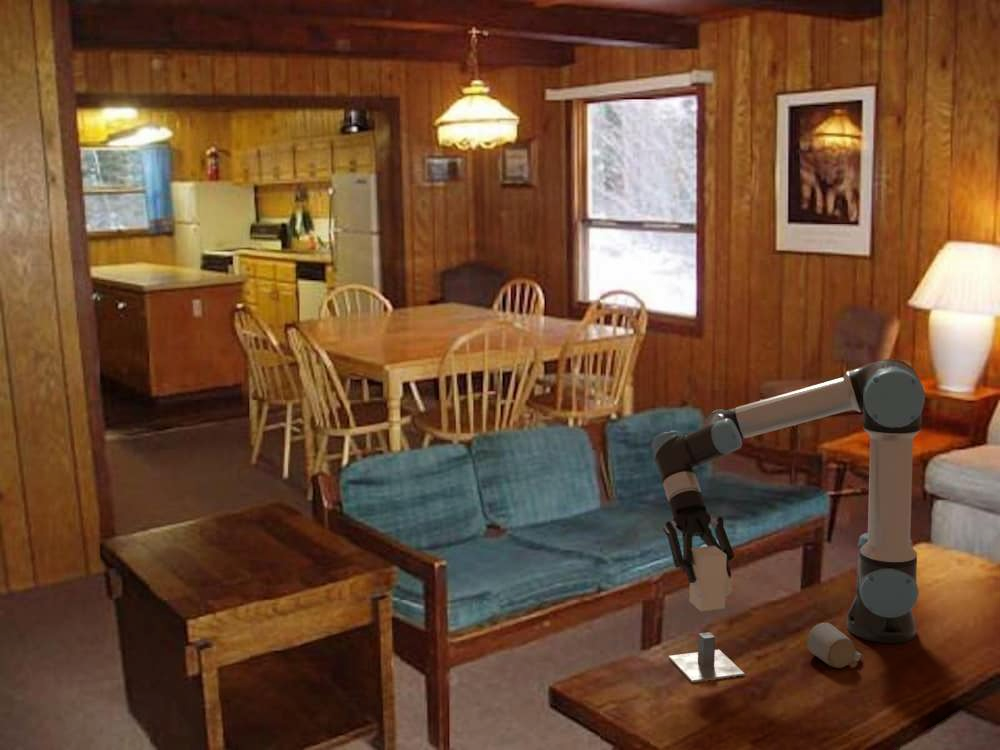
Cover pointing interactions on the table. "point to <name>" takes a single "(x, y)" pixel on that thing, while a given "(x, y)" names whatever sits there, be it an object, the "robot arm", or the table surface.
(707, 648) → the square base plate
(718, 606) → the beige square prism
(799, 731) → the table surface
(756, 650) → the table surface
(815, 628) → the ceramic mug
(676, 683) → the table surface
